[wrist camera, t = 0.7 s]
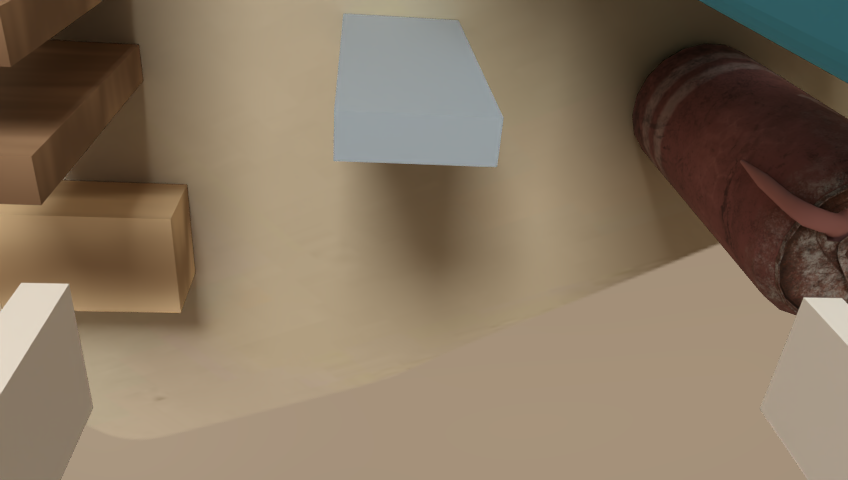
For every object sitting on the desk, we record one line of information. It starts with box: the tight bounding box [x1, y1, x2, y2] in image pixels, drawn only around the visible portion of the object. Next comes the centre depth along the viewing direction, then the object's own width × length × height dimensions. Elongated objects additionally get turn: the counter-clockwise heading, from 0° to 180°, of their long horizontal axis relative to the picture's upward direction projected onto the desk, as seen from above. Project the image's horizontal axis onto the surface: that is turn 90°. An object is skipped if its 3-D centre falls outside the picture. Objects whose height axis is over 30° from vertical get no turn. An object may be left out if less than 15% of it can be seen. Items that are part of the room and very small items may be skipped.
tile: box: [334, 14, 503, 167], centre depth 27 cm, size 2×5×12 cm, turn 86°
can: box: [633, 44, 848, 315], centre depth 29 cm, size 6×6×14 cm
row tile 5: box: [0, 40, 143, 205], centre depth 27 cm, size 2×5×12 cm, turn 86°
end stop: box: [0, 180, 195, 313], centre depth 35 cm, size 5×8×4 cm, turn 86°
